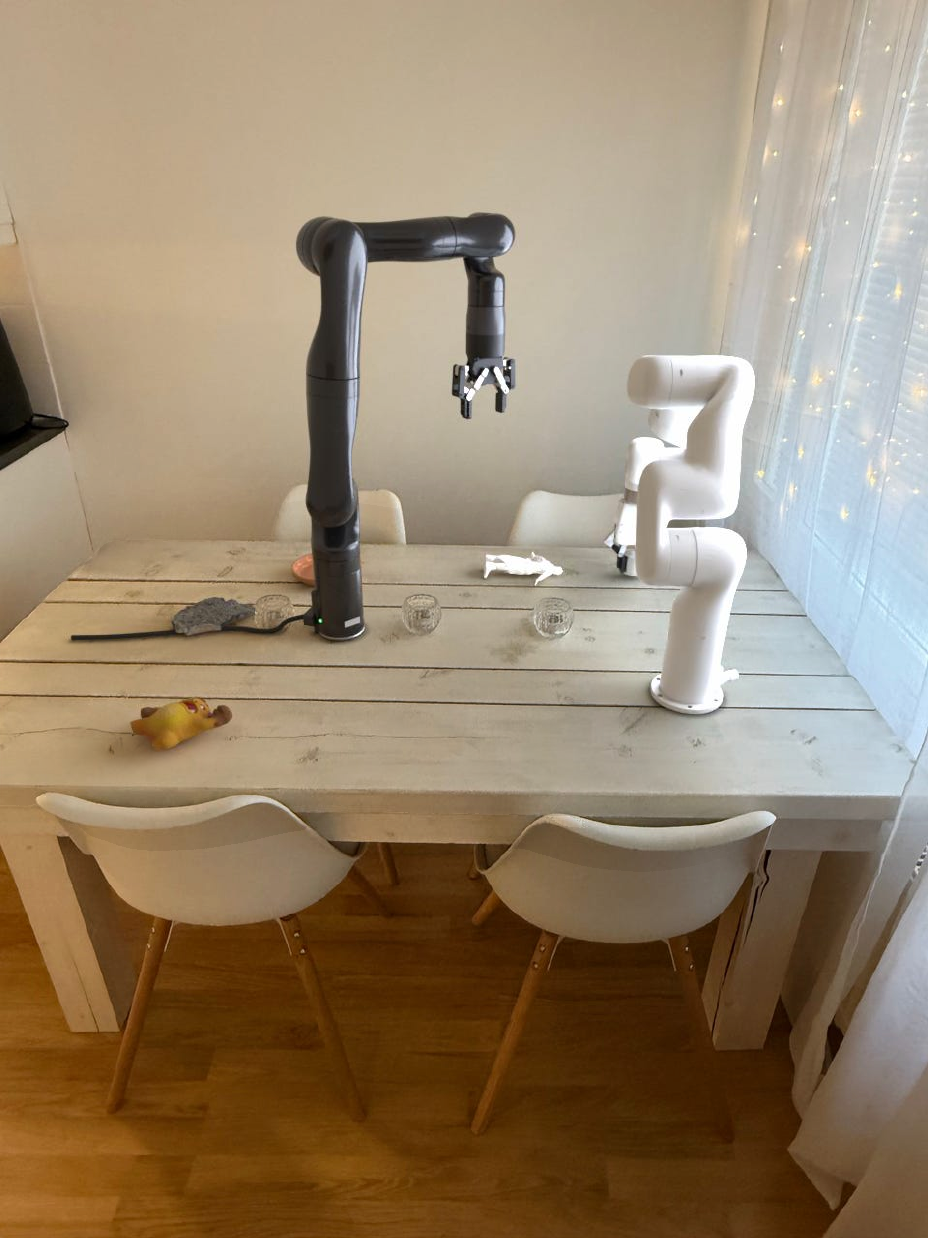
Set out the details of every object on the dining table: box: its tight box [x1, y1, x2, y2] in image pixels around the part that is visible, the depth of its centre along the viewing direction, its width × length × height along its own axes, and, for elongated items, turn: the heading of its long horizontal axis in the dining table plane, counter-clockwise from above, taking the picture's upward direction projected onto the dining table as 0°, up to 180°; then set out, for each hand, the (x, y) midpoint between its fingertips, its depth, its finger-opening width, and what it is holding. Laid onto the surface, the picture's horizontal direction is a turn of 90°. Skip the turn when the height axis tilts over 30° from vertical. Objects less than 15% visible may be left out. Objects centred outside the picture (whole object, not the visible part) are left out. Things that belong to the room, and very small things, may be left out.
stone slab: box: [170, 596, 256, 637], centre depth 168 cm, size 12×17×3 cm
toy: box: [129, 697, 233, 751], centre depth 133 cm, size 11×6×15 cm
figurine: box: [483, 551, 563, 586], centre depth 188 cm, size 17×5×18 cm
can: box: [623, 550, 637, 577], centre depth 187 cm, size 4×4×4 cm
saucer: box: [290, 552, 362, 588], centre depth 186 cm, size 16×16×3 cm
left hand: (483, 415), depth 162 cm, fingers open, 8 cm apart
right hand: (632, 570), depth 188 cm, fingers closed on can, 4 cm apart
